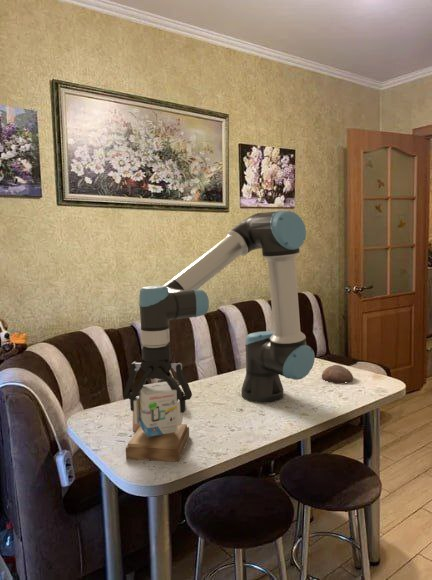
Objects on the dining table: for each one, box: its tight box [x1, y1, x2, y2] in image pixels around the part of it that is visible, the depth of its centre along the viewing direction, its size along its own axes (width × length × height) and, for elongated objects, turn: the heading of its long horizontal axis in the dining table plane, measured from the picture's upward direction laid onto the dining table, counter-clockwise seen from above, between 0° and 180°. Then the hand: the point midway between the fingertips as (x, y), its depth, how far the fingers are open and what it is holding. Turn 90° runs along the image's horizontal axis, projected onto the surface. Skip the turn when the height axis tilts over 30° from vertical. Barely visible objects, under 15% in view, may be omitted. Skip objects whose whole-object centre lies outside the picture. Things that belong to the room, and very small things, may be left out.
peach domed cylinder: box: [132, 411, 140, 433], centre depth 131 cm, size 6×6×7 cm
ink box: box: [138, 382, 178, 437], centre depth 118 cm, size 8×8×12 cm
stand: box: [125, 423, 190, 463], centre depth 119 cm, size 14×14×4 cm
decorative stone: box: [321, 364, 354, 384], centre depth 174 cm, size 12×12×6 cm
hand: (158, 422), depth 119 cm, fingers closed on ink box, 11 cm apart
